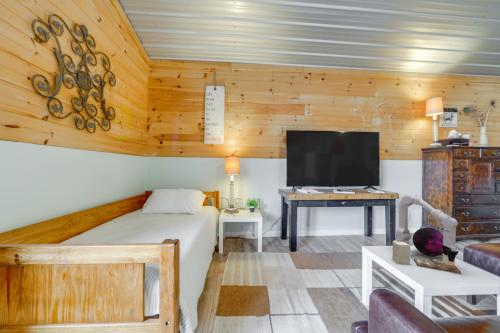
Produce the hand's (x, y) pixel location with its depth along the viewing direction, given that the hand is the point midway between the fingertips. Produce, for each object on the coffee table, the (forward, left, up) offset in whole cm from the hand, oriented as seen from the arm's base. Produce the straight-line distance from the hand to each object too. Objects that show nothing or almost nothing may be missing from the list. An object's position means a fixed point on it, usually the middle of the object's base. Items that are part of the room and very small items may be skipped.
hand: (448, 259), depth 137 cm
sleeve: (0, 0, -4) cm, 4 cm away
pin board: (-6, 0, -6) cm, 9 cm away
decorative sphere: (-4, +22, -6) cm, 23 cm away
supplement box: (-25, -3, -6) cm, 26 cm away
